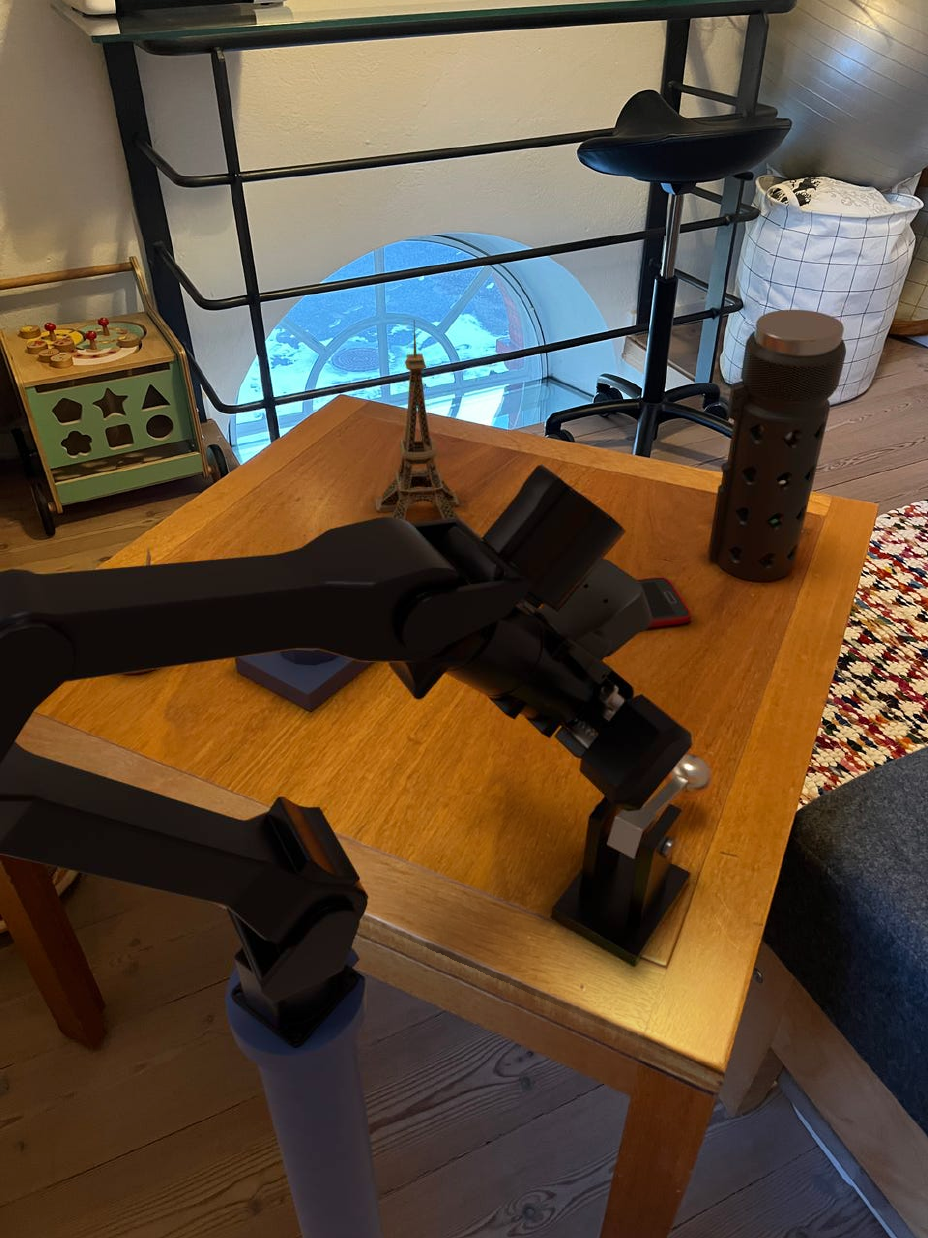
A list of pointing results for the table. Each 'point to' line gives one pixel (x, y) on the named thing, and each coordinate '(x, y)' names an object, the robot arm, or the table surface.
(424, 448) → the eiffel tower
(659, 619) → the cell phone
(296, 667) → the control box
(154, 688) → the table surface
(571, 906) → the bracket
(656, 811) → the lever
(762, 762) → the table surface
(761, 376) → the water bottle
